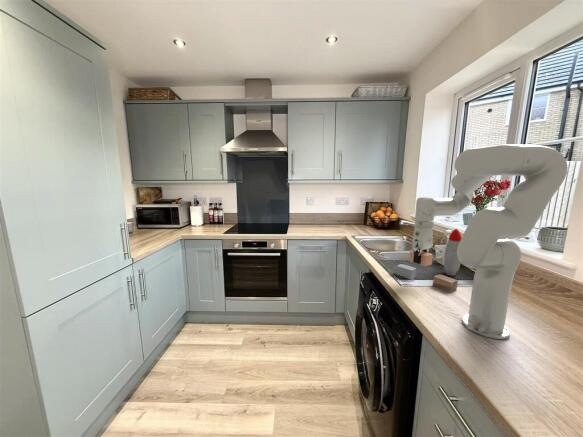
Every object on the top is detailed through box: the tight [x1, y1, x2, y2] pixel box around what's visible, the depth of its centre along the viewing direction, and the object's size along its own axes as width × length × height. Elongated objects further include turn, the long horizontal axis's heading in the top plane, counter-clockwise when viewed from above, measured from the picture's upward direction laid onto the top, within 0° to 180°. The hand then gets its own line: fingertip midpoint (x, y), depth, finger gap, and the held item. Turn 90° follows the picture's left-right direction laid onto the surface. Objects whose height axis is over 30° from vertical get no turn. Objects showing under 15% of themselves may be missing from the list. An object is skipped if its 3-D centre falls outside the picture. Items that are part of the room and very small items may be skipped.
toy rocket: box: [443, 228, 462, 277], centre depth 124 cm, size 8×8×25 cm
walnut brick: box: [432, 274, 459, 293], centre depth 110 cm, size 5×8×5 cm, turn 28°
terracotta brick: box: [408, 250, 434, 267], centre depth 111 cm, size 5×8×5 cm, turn 27°
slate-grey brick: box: [395, 263, 417, 280], centre depth 123 cm, size 5×8×5 cm, turn 38°
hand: (420, 261), depth 111 cm, fingers closed on terracotta brick, 5 cm apart
